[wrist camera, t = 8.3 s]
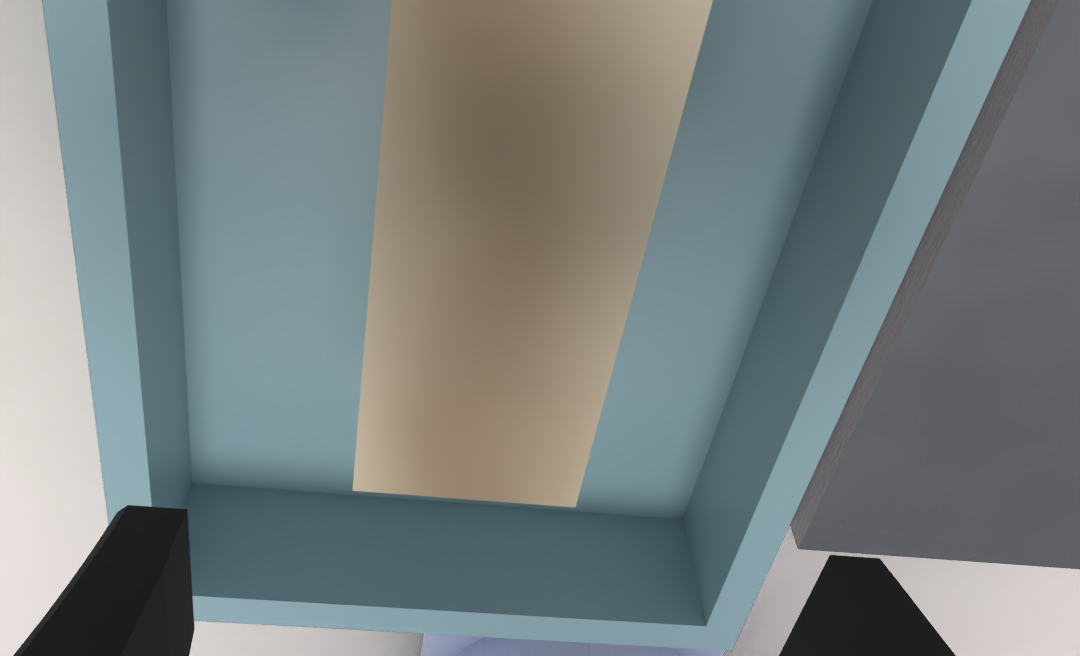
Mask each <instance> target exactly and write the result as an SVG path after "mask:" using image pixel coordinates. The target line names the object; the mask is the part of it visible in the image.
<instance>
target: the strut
mask: <svg viewBox="0 0 1080 656" xmlns="http://www.w3.org/2000/svg"><path fill="white" fill-rule="evenodd" d="M712 2H713V0H392V8H391V20H390V33H389V45H388V57H387V70H386V82H385V94H384V107H383V119H382V132H381V144H380V156H379V169H378V181H377V194H376V206H375V218H374V231H373V243H372V256H371V268H370V280H369V293H368V305H367V317H366V330H365V342H364V355H363V367H362V379H361V392H360V404H359V417H358V429H357V441H356V454H355V466H354V479H353V491H363V492H376V493H390V494H403V495H416V496H430V497H443V498H456V499H470V500H483V501H496V502H510V503H523V504H536V505H549V506H563V507H576V503H577V500H578V496H579V492H580V489H581V485H582V481H583V478H584V474H585V470H586V467H587V463H588V459H589V456H590V452H591V448H592V444H593V441H594V437H595V433H596V430H597V426H598V422H599V419H600V415H601V411H602V408H603V404H604V400H605V397H606V393H607V389H608V385H609V382H610V378H611V374H612V371H613V367H614V363H615V360H616V356H617V352H618V349H619V345H620V341H621V337H622V334H623V330H624V326H625V323H626V319H627V315H628V312H629V308H630V304H631V301H632V297H633V293H634V290H635V286H636V282H637V278H638V275H639V271H640V267H641V264H642V260H643V256H644V253H645V249H646V245H647V242H648V238H649V234H650V231H651V227H652V223H653V219H654V216H655V212H656V208H657V205H658V201H659V197H660V194H661V190H662V186H663V183H664V179H665V175H666V172H667V168H668V164H669V160H670V157H671V153H672V149H673V146H674V142H675V138H676V135H677V131H678V127H679V124H680V120H681V116H682V112H683V109H684V105H685V101H686V98H687V94H688V90H689V87H690V83H691V79H692V76H693V72H694V68H695V65H696V61H697V57H698V53H699V50H700V46H701V42H702V39H703V35H704V31H705V28H706V24H707V20H708V17H709V13H710V9H711V6H712Z"/></svg>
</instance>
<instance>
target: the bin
mask: <svg viewBox="0 0 1080 656" xmlns="http://www.w3.org/2000/svg"><path fill="white" fill-rule="evenodd" d="M1030 1H1031V0H713V2H712V6H711V9H710V13H709V17H708V20H707V24H706V28H705V31H704V35H703V39H702V42H701V46H700V50H699V53H698V57H697V61H696V65H695V68H694V72H693V76H692V79H691V83H690V87H689V90H688V94H687V98H686V101H685V105H684V109H683V112H682V116H681V120H680V124H679V127H678V131H677V135H676V138H675V142H674V146H673V149H672V153H671V157H670V160H669V164H668V168H667V172H666V175H665V179H664V183H663V186H662V190H661V194H660V197H659V201H658V205H657V208H656V212H655V216H654V219H653V223H652V227H651V231H650V234H649V238H648V242H647V245H646V249H645V253H644V256H643V260H642V264H641V267H640V271H639V275H638V278H637V282H636V286H635V290H634V293H633V297H632V301H631V304H630V308H629V312H628V315H627V319H626V323H625V326H624V330H623V334H622V337H621V341H620V345H619V349H618V352H617V356H616V360H615V363H614V367H613V371H612V374H611V378H610V382H609V385H608V389H607V393H606V397H605V400H604V404H603V408H602V411H601V415H600V419H599V422H598V426H597V430H596V433H595V437H594V441H593V444H592V448H591V452H590V456H589V459H588V463H587V467H586V470H585V474H584V478H583V481H582V485H581V489H580V492H579V496H578V500H577V503H576V507H563V506H549V505H536V504H523V503H510V502H496V501H483V500H470V499H456V498H443V497H430V496H416V495H403V494H390V493H376V492H363V491H353V479H354V466H355V454H356V441H357V429H358V417H359V404H360V392H361V379H362V367H363V355H364V342H365V330H366V317H367V305H368V293H369V280H370V268H371V256H372V243H373V231H374V218H375V206H376V194H377V181H378V169H379V156H380V144H381V132H382V119H383V107H384V94H385V82H386V70H387V57H388V45H389V33H390V20H391V8H392V0H42V4H43V12H44V20H45V28H46V35H47V43H48V51H49V59H50V67H51V75H52V83H53V91H54V98H55V106H56V114H57V122H58V130H59V138H60V146H61V154H62V161H63V169H64V177H65V185H66V193H67V201H68V209H69V217H70V224H71V232H72V240H73V248H74V256H75V264H76V272H77V280H78V287H79V295H80V303H81V311H82V319H83V327H84V335H85V343H86V350H87V358H88V366H89V374H90V382H91V390H92V398H93V406H94V413H95V421H96V429H97V437H98V445H99V453H100V461H101V468H102V476H103V484H104V492H105V500H106V508H107V516H108V524H110V523H111V521H112V520H113V518H114V516H115V515H116V513H117V512H118V511H119V510H121V509H122V508H124V507H126V506H127V505H135V506H149V507H163V508H177V509H187V510H188V527H189V544H190V562H191V579H192V596H193V614H194V621H207V622H225V623H243V624H261V625H278V626H296V627H314V628H332V629H350V630H367V631H385V632H403V633H421V634H439V635H456V636H474V637H492V638H510V639H528V640H545V641H563V642H581V643H599V644H617V645H634V646H652V647H670V648H688V649H706V650H723V651H732V649H733V647H734V645H735V643H736V641H737V639H738V636H739V634H740V632H741V630H742V628H743V625H744V623H745V621H746V619H747V617H748V615H749V612H750V610H751V608H752V606H753V604H754V602H755V599H756V597H757V595H758V593H759V591H760V589H761V586H762V584H763V582H764V580H765V578H766V575H767V573H768V571H769V569H770V567H771V565H772V562H773V560H774V558H775V556H776V554H777V552H778V549H779V547H780V545H781V543H782V541H783V538H784V536H785V534H786V532H787V530H788V528H789V525H790V523H791V521H792V519H793V517H794V515H795V512H796V510H797V508H798V506H799V504H800V502H801V499H802V497H803V495H804V493H805V491H806V488H807V486H808V484H809V482H810V480H811V478H812V475H813V473H814V471H815V469H816V467H817V465H818V462H819V460H820V458H821V456H822V454H823V452H824V449H825V447H826V445H827V443H828V441H829V438H830V436H831V434H832V432H833V430H834V428H835V425H836V423H837V421H838V419H839V417H840V415H841V412H842V410H843V408H844V406H845V404H846V401H847V399H848V397H849V395H850V393H851V391H852V388H853V386H854V384H855V382H856V380H857V378H858V375H859V373H860V371H861V369H862V367H863V365H864V362H865V360H866V358H867V356H868V354H869V351H870V349H871V347H872V345H873V343H874V341H875V338H876V336H877V334H878V332H879V330H880V328H881V325H882V323H883V321H884V319H885V317H886V314H887V312H888V310H889V308H890V306H891V304H892V301H893V299H894V297H895V295H896V293H897V291H898V288H899V286H900V284H901V282H902V280H903V278H904V275H905V273H906V271H907V269H908V267H909V264H910V262H911V260H912V258H913V256H914V254H915V251H916V249H917V247H918V245H919V243H920V241H921V238H922V236H923V234H924V232H925V230H926V227H927V225H928V223H929V221H930V219H931V217H932V214H933V212H934V210H935V208H936V206H937V204H938V201H939V199H940V197H941V195H942V193H943V191H944V188H945V186H946V184H947V182H948V180H949V177H950V175H951V173H952V171H953V169H954V167H955V164H956V162H957V160H958V158H959V156H960V154H961V151H962V149H963V147H964V145H965V143H966V140H967V138H968V136H969V134H970V132H971V130H972V127H973V125H974V123H975V121H976V119H977V117H978V114H979V112H980V110H981V108H982V106H983V104H984V101H985V99H986V97H987V95H988V93H989V90H990V88H991V86H992V84H993V82H994V80H995V77H996V75H997V73H998V71H999V69H1000V67H1001V64H1002V62H1003V60H1004V58H1005V56H1006V53H1007V51H1008V49H1009V47H1010V45H1011V43H1012V40H1013V38H1014V36H1015V34H1016V32H1017V30H1018V27H1019V25H1020V23H1021V21H1022V19H1023V17H1024V14H1025V12H1026V10H1027V8H1028V6H1029V3H1030Z"/></svg>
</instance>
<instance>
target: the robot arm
mask: <svg viewBox="0 0 1080 656" xmlns="http://www.w3.org/2000/svg"><path fill="white" fill-rule="evenodd" d="M193 633H194V614H193V596H192V579H191V562H190V544H189V527H188V510H187V509H177V508H163V507H149V506H135V505H127V506H126V507H124V508H122V509H121V510H119V511H118V512H117V513H116V515H115V516H114V518H113V520H112V521H111V523H110V524H109V526H108V527H107V529H106V531H105V532H104V534H103V535H102V537H101V538H100V540H99V541H98V543H97V544H96V546H95V547H94V548H93V550H92V551H91V553H90V554H89V556H88V557H87V559H86V560H85V562H84V563H83V564H82V566H81V567H80V569H79V570H78V572H77V573H76V574H75V576H74V577H73V579H72V580H71V581H70V583H69V584H68V585H67V587H66V588H65V589H64V591H63V592H62V593H61V595H60V596H59V598H58V599H57V600H56V602H55V603H54V604H53V606H52V607H51V608H50V610H49V611H48V612H47V614H46V615H45V616H44V618H43V619H42V620H41V622H40V623H39V624H38V625H37V627H36V628H35V629H34V630H33V632H32V633H31V634H30V635H29V637H28V638H27V639H26V640H25V642H24V643H23V644H22V645H21V647H20V648H19V649H18V650H17V652H16V653H15V654H14V655H13V656H189V653H190V648H191V643H192V638H193ZM724 652H725V651H723V650H706V649H688V648H670V647H652V646H634V645H617V644H599V643H581V642H563V641H545V640H528V639H510V638H492V637H474V636H456V635H439V634H424V635H423V642H422V648H421V654H420V656H723V654H724ZM779 656H955V654H954V653H953V652H952V651H951V649H950V648H949V647H948V645H947V644H946V643H945V642H944V640H943V639H942V638H941V637H940V635H939V634H938V633H937V631H936V630H935V629H934V628H933V626H932V625H931V624H930V622H929V621H928V620H927V618H926V617H925V616H924V615H923V613H922V612H921V611H920V609H919V608H918V607H917V606H916V604H915V603H914V602H913V600H912V599H911V598H910V596H909V595H908V594H907V593H906V591H905V590H904V589H903V587H902V586H901V585H900V584H899V582H898V581H897V580H896V579H895V577H894V576H893V575H892V573H891V572H890V571H889V570H888V568H887V567H886V566H885V565H884V563H883V562H882V561H881V560H880V559H878V558H864V557H850V556H836V555H830V556H829V558H828V560H827V562H826V564H825V566H824V568H823V570H822V572H821V574H820V576H819V578H818V580H817V582H816V584H815V586H814V588H813V590H812V592H811V594H810V596H809V598H808V600H807V602H806V604H805V606H804V608H803V610H802V612H801V614H800V615H799V617H798V619H797V621H796V623H795V625H794V627H793V629H792V631H791V633H790V635H789V637H788V639H787V641H786V643H785V645H784V647H783V649H782V651H781V653H780V655H779Z"/></svg>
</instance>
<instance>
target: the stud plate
mask: <svg viewBox="0 0 1080 656" xmlns="http://www.w3.org/2000/svg"><path fill="white" fill-rule="evenodd" d="M790 526H791V529H792V532H793V535H794V538H795V541H796V545H797V548H798V549H806V550H820V551H834V552H848V553H862V554H876V555H890V556H903V557H917V558H931V559H945V560H959V561H973V562H987V563H1001V564H1015V565H1029V566H1043V567H1057V568H1071V569H1080V0H1031V1H1030V3H1029V6H1028V8H1027V10H1026V12H1025V14H1024V17H1023V19H1022V21H1021V23H1020V25H1019V27H1018V30H1017V32H1016V34H1015V36H1014V38H1013V40H1012V43H1011V45H1010V47H1009V49H1008V51H1007V53H1006V56H1005V58H1004V60H1003V62H1002V64H1001V67H1000V69H999V71H998V73H997V75H996V77H995V80H994V82H993V84H992V86H991V88H990V90H989V93H988V95H987V97H986V99H985V101H984V104H983V106H982V108H981V110H980V112H979V114H978V117H977V119H976V121H975V123H974V125H973V127H972V130H971V132H970V134H969V136H968V138H967V140H966V143H965V145H964V147H963V149H962V151H961V154H960V156H959V158H958V160H957V162H956V164H955V167H954V169H953V171H952V173H951V175H950V177H949V180H948V182H947V184H946V186H945V188H944V191H943V193H942V195H941V197H940V199H939V201H938V204H937V206H936V208H935V210H934V212H933V214H932V217H931V219H930V221H929V223H928V225H927V227H926V230H925V232H924V234H923V236H922V238H921V241H920V243H919V245H918V247H917V249H916V251H915V254H914V256H913V258H912V260H911V262H910V264H909V267H908V269H907V271H906V273H905V275H904V278H903V280H902V282H901V284H900V286H899V288H898V291H897V293H896V295H895V297H894V299H893V301H892V304H891V306H890V308H889V310H888V312H887V314H886V317H885V319H884V321H883V323H882V325H881V328H880V330H879V332H878V334H877V336H876V338H875V341H874V343H873V345H872V347H871V349H870V351H869V354H868V356H867V358H866V360H865V362H864V365H863V367H862V369H861V371H860V373H859V375H858V378H857V380H856V382H855V384H854V386H853V388H852V391H851V393H850V395H849V397H848V399H847V401H846V404H845V406H844V408H843V410H842V412H841V415H840V417H839V419H838V421H837V423H836V425H835V428H834V430H833V432H832V434H831V436H830V438H829V441H828V443H827V445H826V447H825V449H824V452H823V454H822V456H821V458H820V460H819V462H818V465H817V467H816V469H815V471H814V473H813V475H812V478H811V480H810V482H809V484H808V486H807V488H806V491H805V493H804V495H803V497H802V499H801V502H800V504H799V506H798V508H797V510H796V512H795V515H794V517H793V519H792V521H791V523H790Z"/></svg>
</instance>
